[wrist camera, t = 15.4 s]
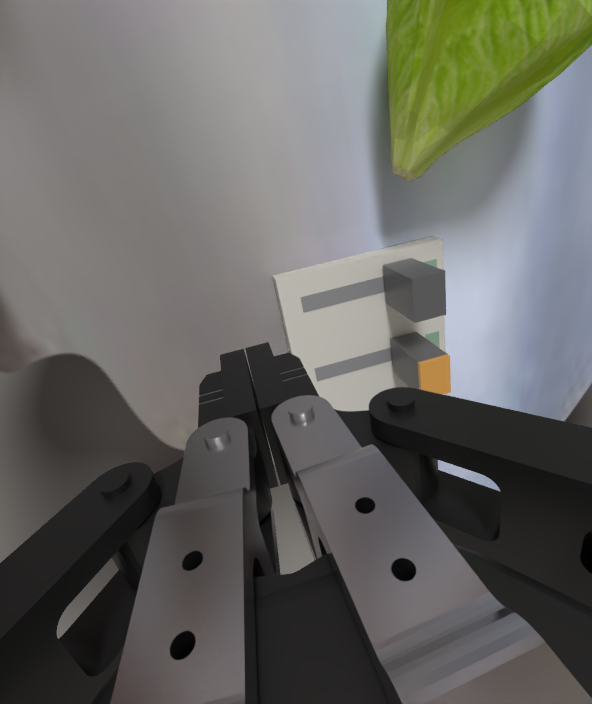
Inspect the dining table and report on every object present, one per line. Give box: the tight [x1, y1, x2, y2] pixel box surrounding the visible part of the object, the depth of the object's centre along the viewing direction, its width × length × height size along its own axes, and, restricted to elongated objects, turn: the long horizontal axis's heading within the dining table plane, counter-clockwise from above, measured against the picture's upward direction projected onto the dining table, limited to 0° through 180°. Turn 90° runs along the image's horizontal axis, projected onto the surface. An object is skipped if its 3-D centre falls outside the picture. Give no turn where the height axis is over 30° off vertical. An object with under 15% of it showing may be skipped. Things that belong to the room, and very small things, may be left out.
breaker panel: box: [273, 236, 446, 411], centre depth 43 cm, size 17×22×2 cm
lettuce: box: [386, 0, 592, 181], centre depth 28 cm, size 15×22×15 cm
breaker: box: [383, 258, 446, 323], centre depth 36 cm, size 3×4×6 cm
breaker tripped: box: [390, 332, 451, 395], centre depth 39 cm, size 3×4×6 cm
